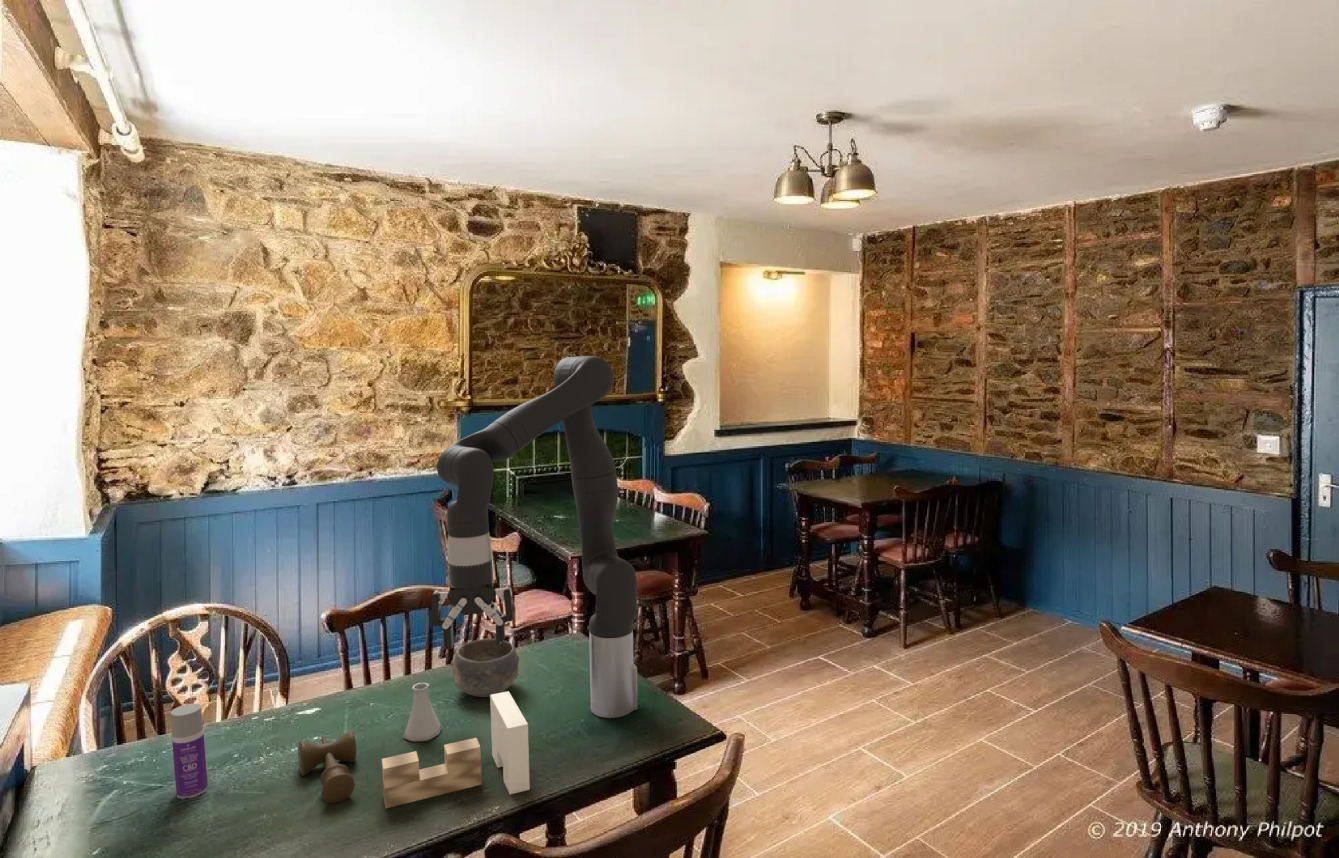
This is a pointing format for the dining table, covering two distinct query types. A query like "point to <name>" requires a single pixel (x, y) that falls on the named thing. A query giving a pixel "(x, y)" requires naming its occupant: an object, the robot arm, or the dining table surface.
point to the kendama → (330, 764)
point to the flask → (422, 716)
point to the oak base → (431, 774)
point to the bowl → (485, 667)
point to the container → (189, 751)
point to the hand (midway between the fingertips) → (475, 645)
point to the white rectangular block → (510, 742)
